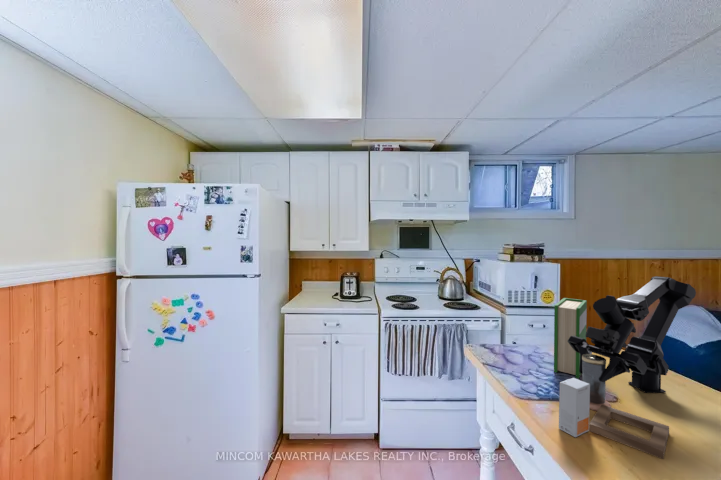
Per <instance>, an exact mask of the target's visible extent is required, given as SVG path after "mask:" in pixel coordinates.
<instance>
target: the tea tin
mask: <svg viewBox="0 0 721 480" xmlns="http://www.w3.org/2000/svg"><path fill="white" fill-rule="evenodd" d="M606 365H607V359H606V357H604V356H602V355H599V354H593V353H592V354H583V355H582V374H581V375H582V376H581V379H582V380H581V381H583V382H586V383H589V384H590V402H592V403H597V404H603V403H605V400H606V381H605V382H601V381H600V379H601V376H602V374H603V373H604V371H605V369H606V368H607V366H606Z"/></svg>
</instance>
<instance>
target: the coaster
mask: <svg viewBox="0 0 721 480" xmlns="http://www.w3.org/2000/svg"><path fill="white" fill-rule="evenodd" d="M601 405H605V406H608V407H611V408H612V404H611V403H610V402H609V401H607V400H606V399H605V403H603V404H597V403H592V402H590V408H589V410H591V411H596V412H597V411H598V409H599V408H600V406H601Z"/></svg>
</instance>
